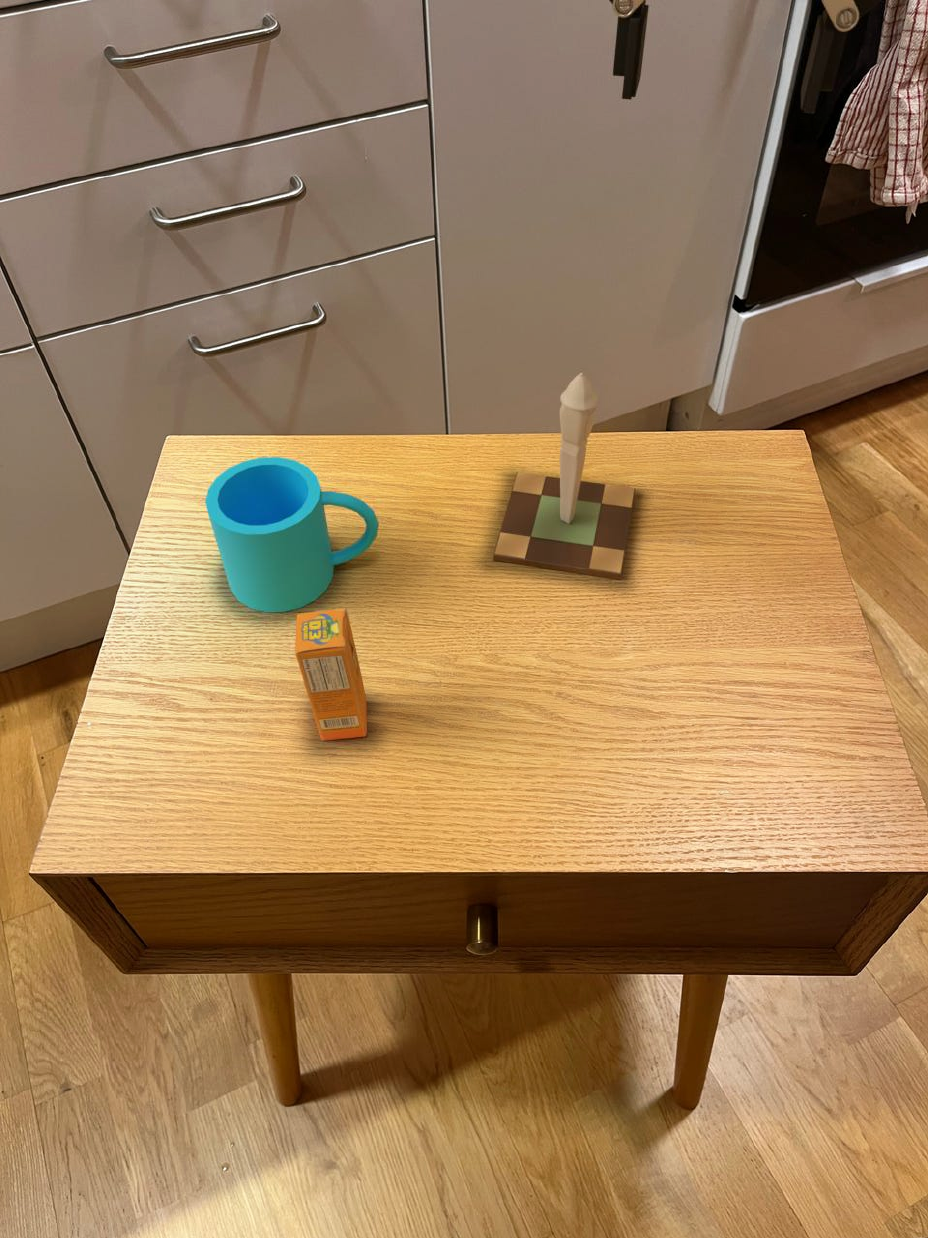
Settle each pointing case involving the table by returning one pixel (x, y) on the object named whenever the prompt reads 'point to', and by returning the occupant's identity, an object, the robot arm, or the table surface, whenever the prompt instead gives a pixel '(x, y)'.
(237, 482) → the mug
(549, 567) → the board
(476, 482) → the table surface
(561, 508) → the beige tapered rod
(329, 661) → the supplement box
